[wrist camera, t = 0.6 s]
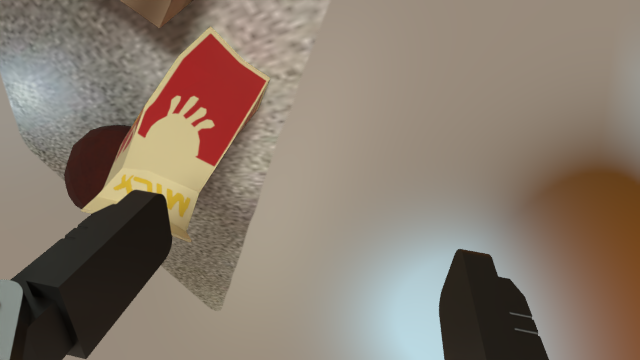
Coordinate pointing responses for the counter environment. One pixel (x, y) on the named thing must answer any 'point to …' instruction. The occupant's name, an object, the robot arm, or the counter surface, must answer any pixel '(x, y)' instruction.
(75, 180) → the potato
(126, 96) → the counter surface
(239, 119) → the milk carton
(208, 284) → the counter surface
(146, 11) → the block
